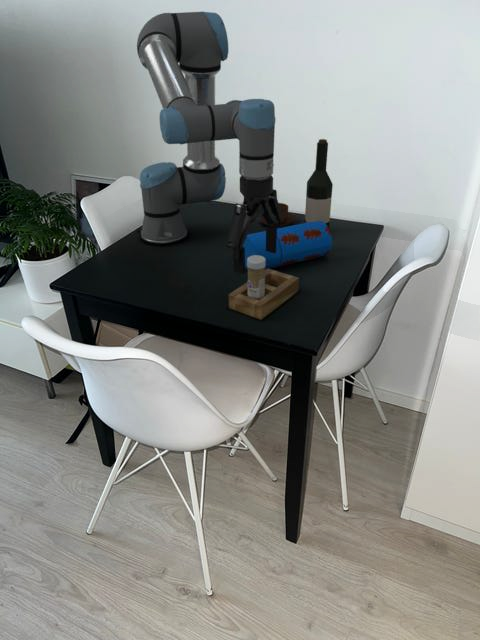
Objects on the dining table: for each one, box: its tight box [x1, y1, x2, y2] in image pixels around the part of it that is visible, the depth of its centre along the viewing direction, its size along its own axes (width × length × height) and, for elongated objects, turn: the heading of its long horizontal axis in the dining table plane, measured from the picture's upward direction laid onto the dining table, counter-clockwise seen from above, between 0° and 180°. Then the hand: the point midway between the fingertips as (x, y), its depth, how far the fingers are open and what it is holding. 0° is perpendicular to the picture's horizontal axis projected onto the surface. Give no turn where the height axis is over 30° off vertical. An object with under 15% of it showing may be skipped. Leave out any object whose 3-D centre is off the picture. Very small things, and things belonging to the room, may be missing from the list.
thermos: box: [243, 221, 333, 271], centre depth 149 cm, size 11×11×25 cm
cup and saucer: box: [259, 202, 295, 228], centre depth 177 cm, size 12×12×6 cm
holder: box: [228, 268, 300, 321], centre depth 133 cm, size 10×18×4 cm, turn 144°
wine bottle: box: [304, 138, 334, 229], centre depth 164 cm, size 8×8×30 cm
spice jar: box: [247, 255, 266, 300], centre depth 127 cm, size 5×5×13 cm
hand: (255, 261), depth 124 cm, fingers open, 13 cm apart
